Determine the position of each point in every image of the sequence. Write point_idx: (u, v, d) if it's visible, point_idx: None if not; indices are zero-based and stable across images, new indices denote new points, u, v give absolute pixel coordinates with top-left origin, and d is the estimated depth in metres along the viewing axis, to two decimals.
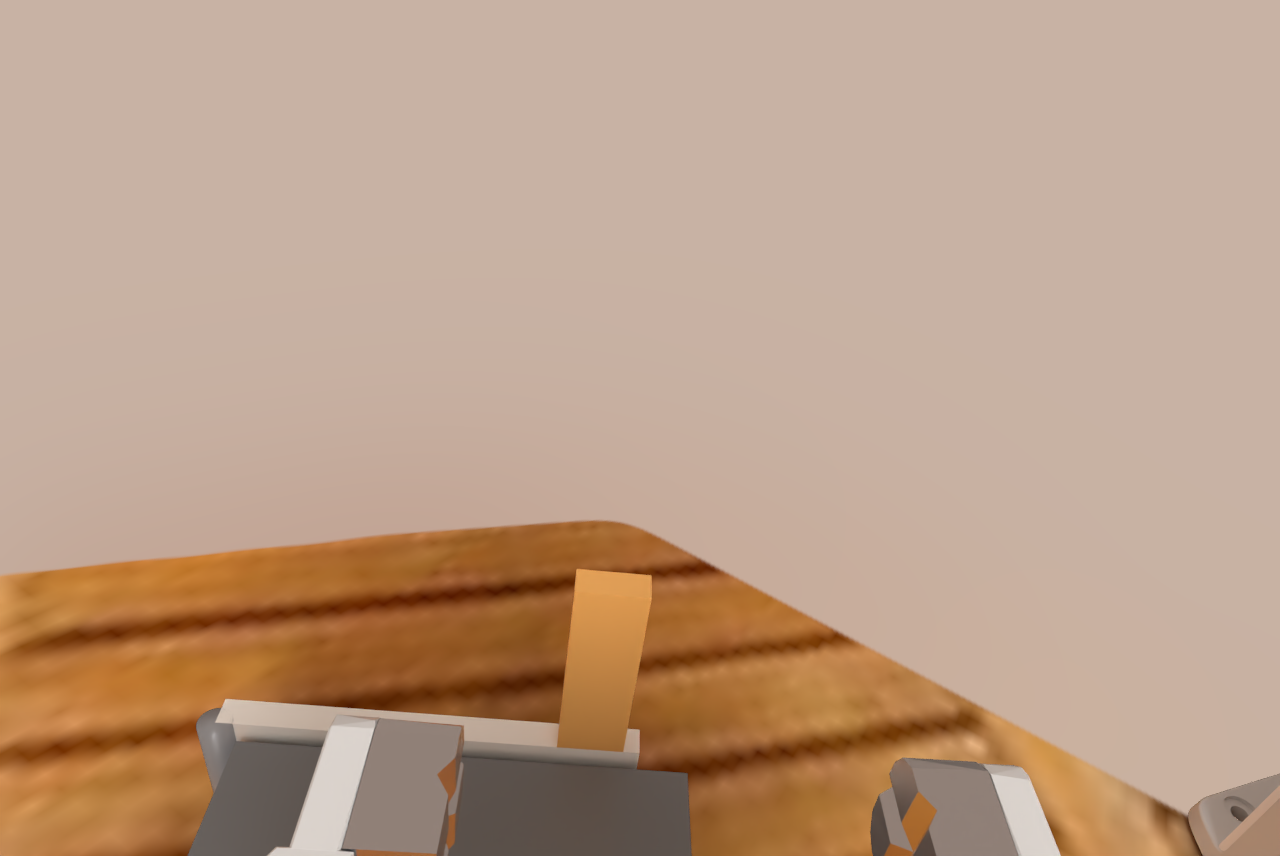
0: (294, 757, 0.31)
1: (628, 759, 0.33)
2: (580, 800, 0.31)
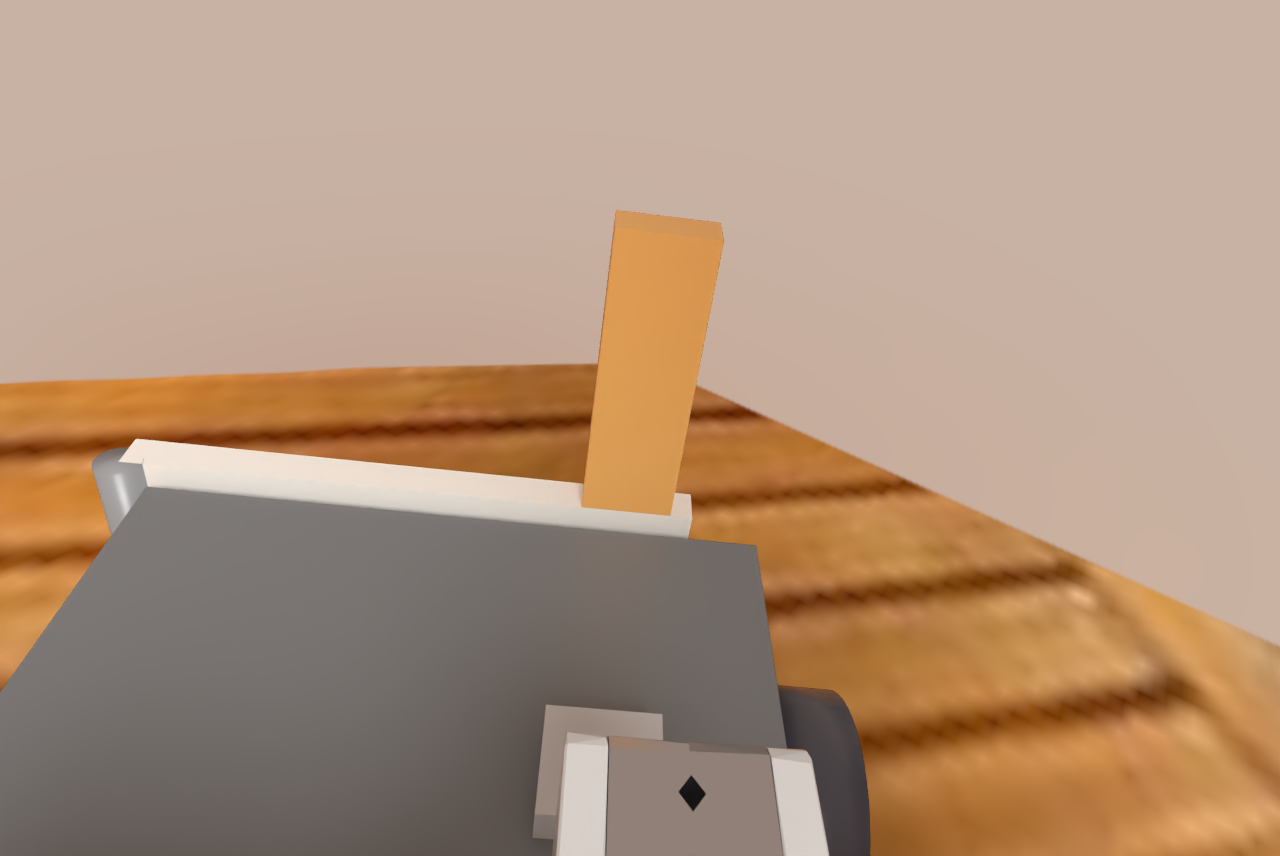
0: (224, 506, 0.23)
1: (676, 528, 0.24)
2: (614, 567, 0.23)
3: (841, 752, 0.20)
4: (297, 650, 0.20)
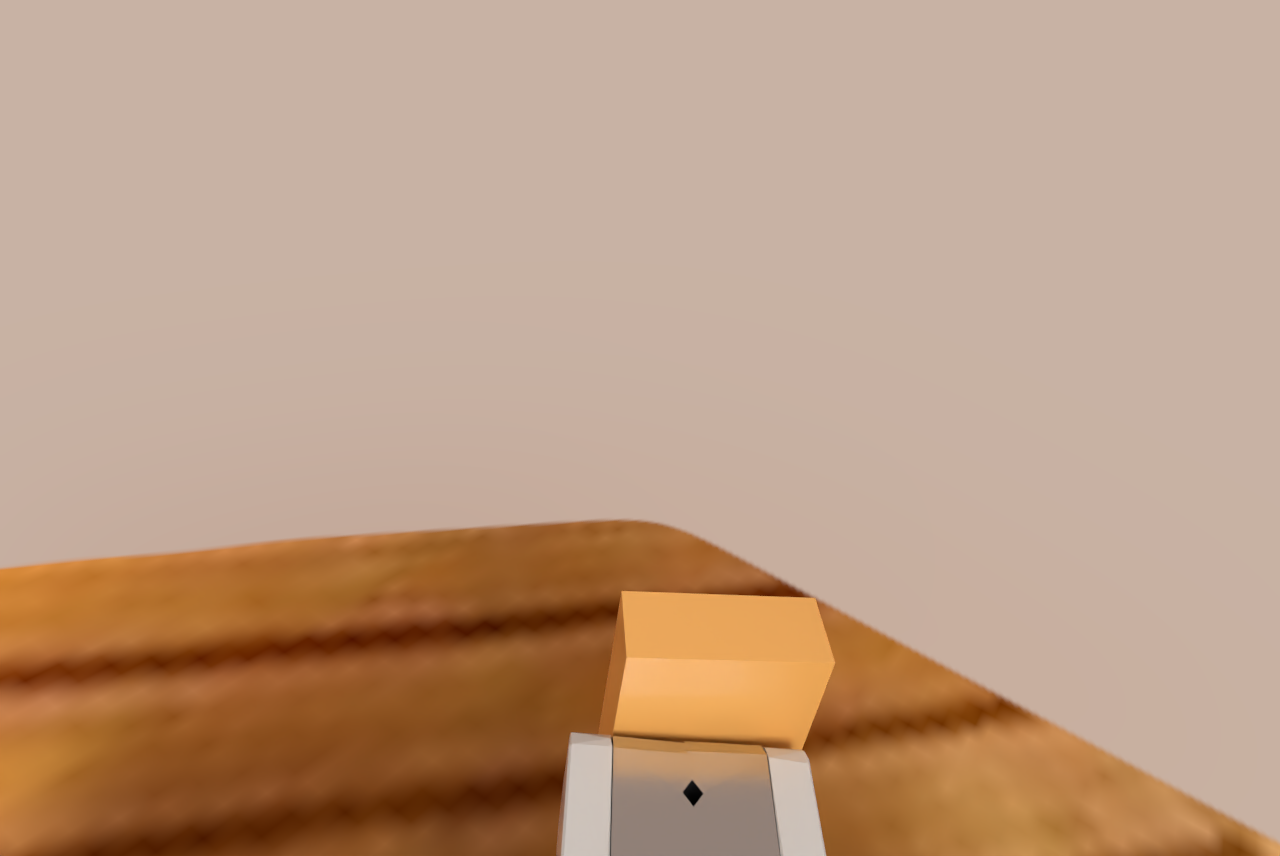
0: None
1: None
2: None
3: None
4: None
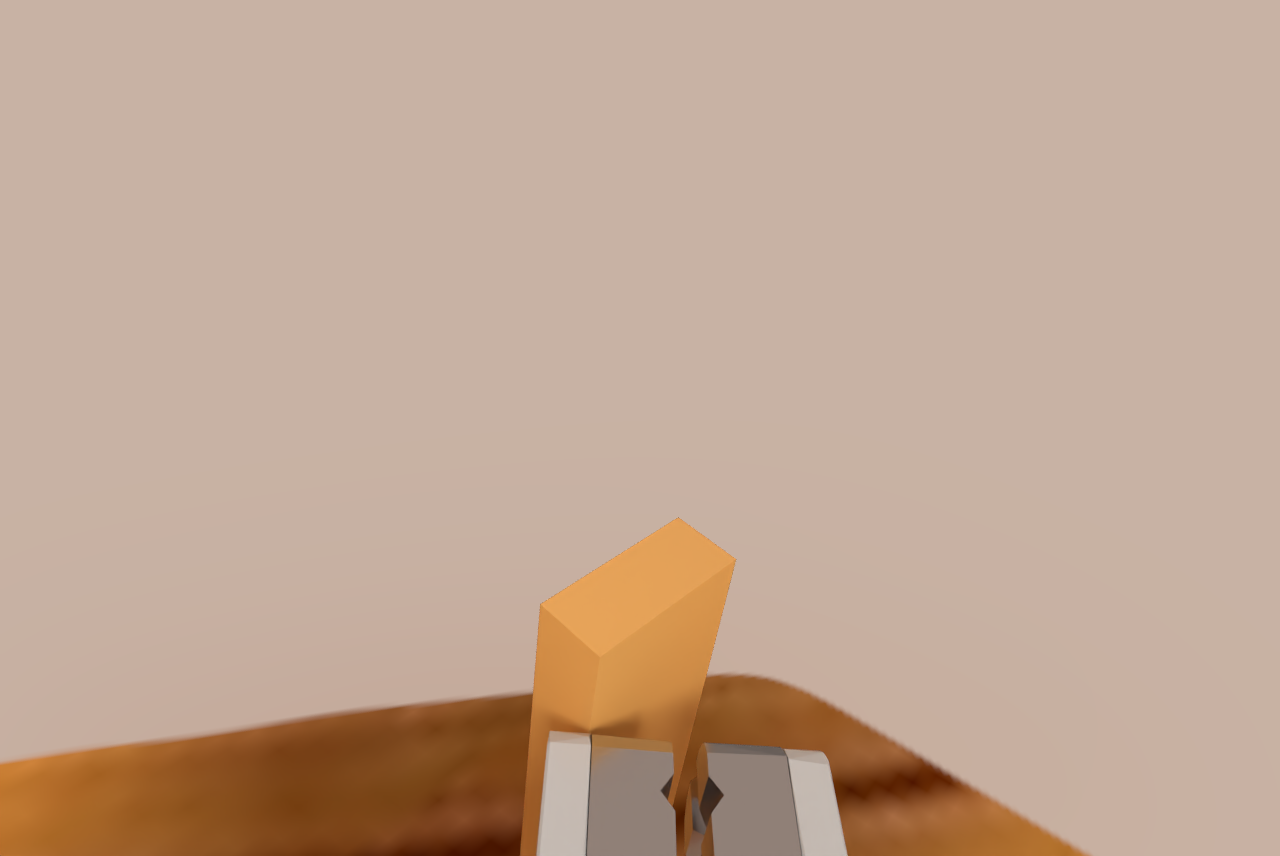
0: None
1: None
2: None
3: None
4: None
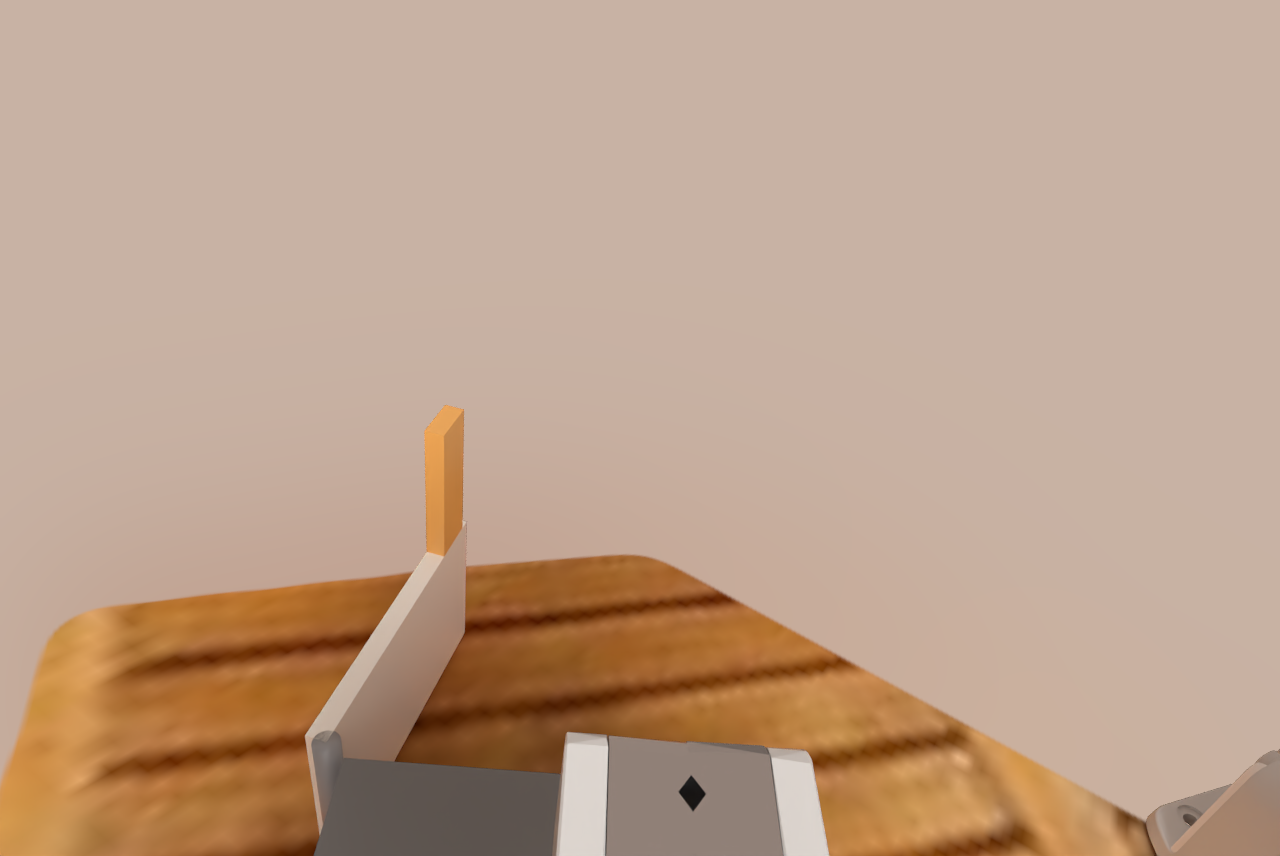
0: (392, 771, 0.38)
1: (463, 530, 0.50)
2: None
3: None
4: None
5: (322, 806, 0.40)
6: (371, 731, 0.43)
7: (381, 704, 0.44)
